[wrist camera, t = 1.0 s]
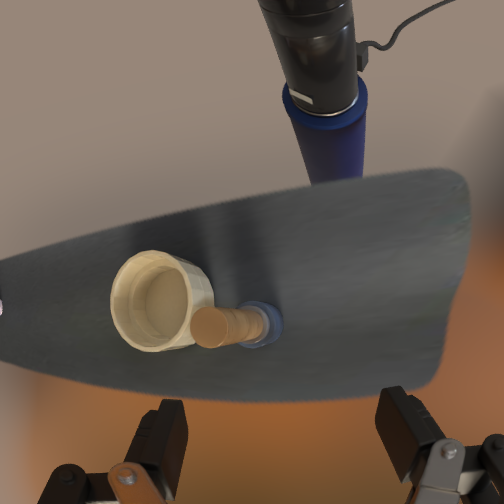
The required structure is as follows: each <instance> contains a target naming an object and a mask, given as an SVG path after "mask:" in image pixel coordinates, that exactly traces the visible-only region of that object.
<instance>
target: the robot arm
mask: <svg viewBox="0 0 504 504" xmlns="http://www.w3.org/2000/svg"><path fill="white" fill-rule="evenodd" d="M453 1H455V0H444V1H441V2H439V3H437V4H434V5H432V6H430V7H428V8H426V9H424V10H422V11H421V12H419V13H417V14H415V15H413V16H411V17H410V18H408V19H407V20H405V21H404V22H402V23H401V24H400V25H399V26H398V27H397V28H396V29H395V31H394V33H393V35H392V37H391V39H390V41H389V42H388V43H387V44H386V45H384V46H381V45H380V44H378V43H377V42H375V41H363V42H361V43H357V42H356V40H355V28H354V17H353V9H352V0H258V2H259V5H260V7H261V10H262V13H263V15H264V18H265V21H266V23H267V26H268V28H269V31H270V34H271V37H272V39H273V42H274V45H275V48H276V51H277V54H278V57H279V60H280V62H281V65H282V68H283V71H284V74H285V77H286V81H287V84H288V87H289V91H290V96H291V99H292V102H293V103H294V105H295V106H296V107H297V108H298V109H299V110H300V111H301V112H303V113H305V114H307V115H309V116H312V117H316V118H333V117H337V116H340V115H343V114H345V113H346V112H348V111H349V110H351V109H352V108H353V107H354V105H355V104H356V102H357V100H358V96H359V89H358V80H357V71H361V72H363V70H364V68H365V66H366V65H367V63H368V46H373V47H375V48H377V49H378V50H380V51H386V50H388V49H390V48H391V47H392V46H393V45H394V43H395V41H396V39H397V37H398V35H399V33H400V32H401V30H402V29H403V28H404V27H406V26H407V25H408V24H410V23H411V22H413V21H415V20H416V19H418V18H420V17H422V16H423V15H425V14H427V13H429V12H431V11H433V10H434V9H437V8H439V7H441V6H443V5H445V4H448V3H450V2H453ZM375 425H376V429H377V431H378V433H379V436H380V438H381V440H382V442H383V444H384V446H385V449H386V451H387V453H388V455H389V457H390V460H391V462H392V464H393V466H394V468H395V471H396V473H397V475H398V477H399V480H400V482H401V483H406V482H409V481H411V482H412V484H413V486H412V488H411V490H410V493H409V495H408V497H407V500H406V502H405V504H458V503H459V500H460V498H461V500H462V502H463V504H504V435H502V434H493V435H490V436H488V437H487V438H486V439H485V441H484V442H483V444H482V445H477V446H467V447H464V446H463V444H462V443H461V442H459V441H458V440H455V439H452V438H446V437H445V435H444V433H443V432H442V431H441V429H440V428H439V426H438V425H437V423H436V422H435V420H434V419H433V417H431V415H430V413H429V412H428V410H426V407H425V406H424V405H423V403H422V402H421V401H420V400H419V399H417V398H416V397H414V396H413V395H408V396H407V394H406V393H405V391H404V390H403V388H402V387H401V386H395V387H389V388H384V389H382V391H381V394H380V398H379V403H378V407H377V411H376V415H375ZM138 427H139V428H138V429H137V431H136V433H135V436H134V438H133V440H132V443H131V445H130V447H129V450H128V452H127V455H126V457H125V459H124V462H123V463H119V464H117V465H115V466H114V467H112V469H111V470H110V471H109V472H108V473H90V474H86V473H85V471H84V470H83V469H82V468H81V467H79V466H78V465H75V464H64V465H61V466H59V467H57V468H56V469H55V470H54V471H53V472H52V474H51V476H50V478H49V480H48V482H47V484H46V487H45V489H44V491H43V493H42V495H41V497H40V499H39V501H38V503H37V504H167V502H166V501H165V500H172V501H174V500H175V496H176V491H177V486H178V482H179V477H180V473H181V468H182V464H183V459H184V454H185V450H186V446H187V441H188V425H187V421H186V416H185V411H184V406H183V402H182V400H174V399H163V400H162V401H161V404H160V407H159V409H158V411H157V410H150V411H149V412H148V413H146V414H145V415H144V416H143V417H142V419H141V421H140V424H139V426H138ZM492 481H493V483H494V485H495V487H496V488H497V490H498V492H499V495H500V496H499V495H498V493H497V491H496V489H495V487H494V486H493V484H492Z"/></svg>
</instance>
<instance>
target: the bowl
mask: <svg viewBox="0 0 504 504" xmlns="http://www.w3.org/2000/svg"><path fill="white" fill-rule="evenodd" d="M110 299H111V313H112V317H113V321H114V324H115V326H116V328H117V330H118V331H119V333H120V335H121V336H122V338H123V339H125V340H126V341H127V342H128V343H129V344H130V345H131V346H132V347H135V348H137V349H139V350H142V351H145V352H159V351H166V350H173V349H180V348H184V347H187V346H189V345H192V344H194V343H195V342H196V341H195V340H194V339H193V337H192V335H191V332H190V322H191V318H192V316H193V315H194V313H195V312H196V311H197V310H199V309H200V308H202V307H206V306H211V307H214V293H213V290H212V287H211V284H210V282H209V279H208V278H207V276H206V275H205V274H204V273H203V271H202V270H201V269H200V268H199V267H197V266H196V265H194V264H193V263H191V262H190V261H187V260H184V259H182V258H179V257H176V256H174V255H171V254H168V253H165V252H161V251H156V250H149V251H144V252H140V253H138V254H136V255H135V256H133V257H131V258H129V259H128V260H127V262H126V263H125V264H124V265H123V266H122V267H121V268H120V270H119V272H118V274H117V276H116V278H115V280H114V282H113V286H112V291H111V296H110Z"/></svg>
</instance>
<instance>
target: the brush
mask: <svg viewBox="0 0 504 504" xmlns="http://www.w3.org/2000/svg"><path fill="white" fill-rule="evenodd" d="M282 330H283V318H282V315H281V313H280V311H279V310H278V309H277V308H276V307H275V306H273V305H271V304H269V303H265V302H259V301H246V302H243V303H241V304H240V305H238V306H237V307H236V308H235V309H234V308H222V307H211V306H206V307H202V308H200V309H199V310H197V311H196V312H195V313H194V315H193V316H192V318H191V322H190V332H191V335H192V337H193V339H194V340H195V341H196V343H198V344H199V345H200V346H202V347H205V348H215V347H220V346H224V345H229V344H234V343H239V344H240V345H242V346H244V347H247V348H258V347H261V346H264V345H267V344H270V343H272V342H274V341H275V340H276V339H277V338H278V337H279V336H280V334H281V333H282Z"/></svg>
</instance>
